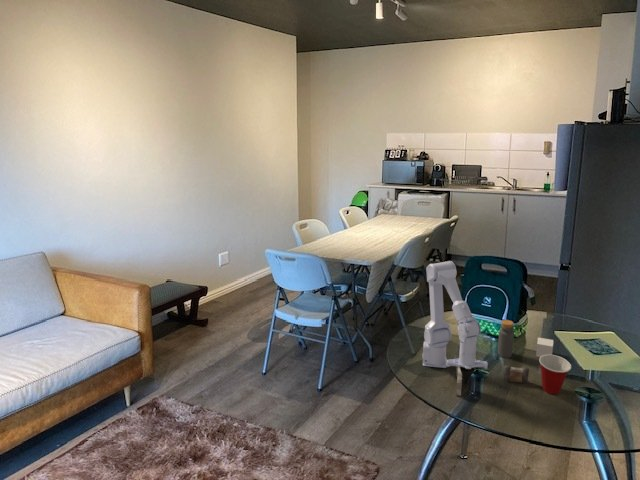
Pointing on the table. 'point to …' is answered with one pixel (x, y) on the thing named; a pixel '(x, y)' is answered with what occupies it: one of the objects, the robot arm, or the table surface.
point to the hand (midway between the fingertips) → (465, 383)
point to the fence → (516, 374)
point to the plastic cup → (553, 372)
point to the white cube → (544, 347)
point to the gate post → (457, 370)
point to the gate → (459, 382)
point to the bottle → (506, 339)
